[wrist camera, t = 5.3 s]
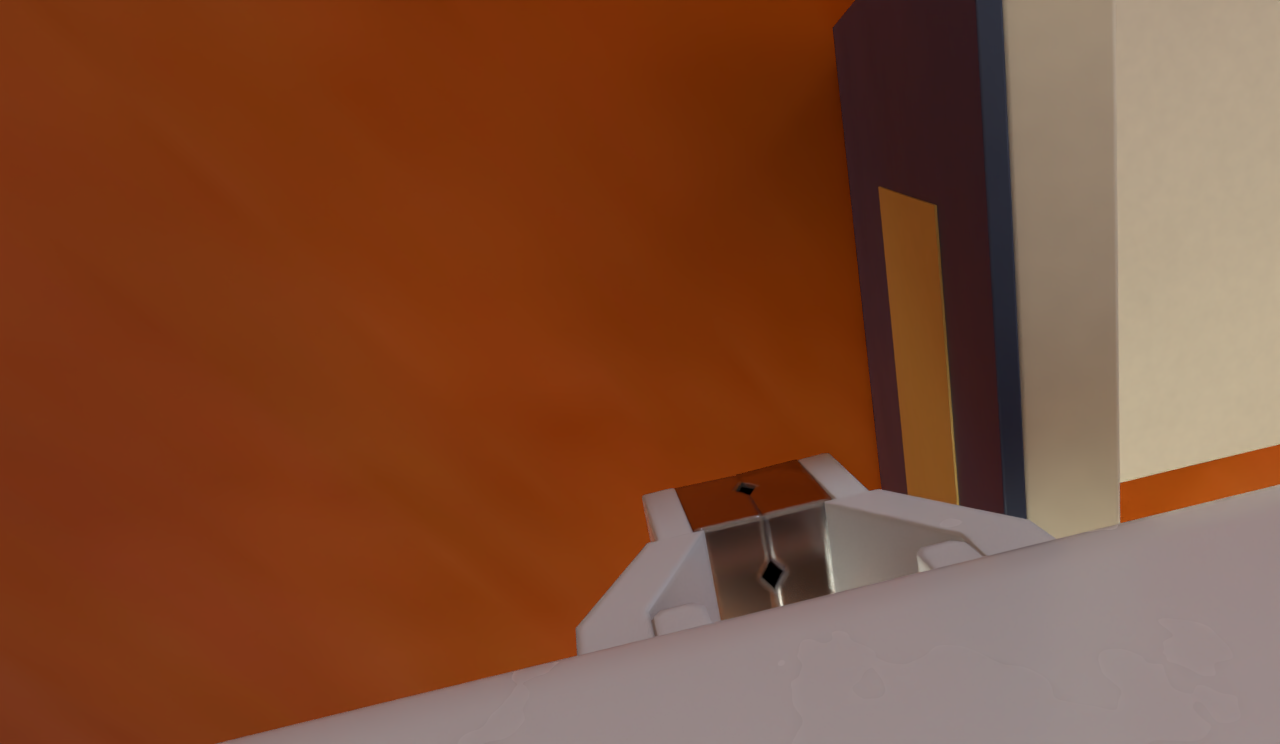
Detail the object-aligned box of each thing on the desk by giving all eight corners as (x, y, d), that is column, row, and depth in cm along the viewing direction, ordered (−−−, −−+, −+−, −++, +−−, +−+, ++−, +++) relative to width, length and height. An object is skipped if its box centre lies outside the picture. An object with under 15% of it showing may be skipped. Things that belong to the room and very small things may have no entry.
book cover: (1122, -178, 8) (963, -138, 8) (1128, 926, 12) (1025, 927, 13) (891, 14, 20) (831, 27, 20) (936, 538, 24) (885, 542, 24)
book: (1265, -48, 22) (1318, -65, 21) (1245, 435, 27) (1288, 451, 25) (865, 26, 21) (890, 14, 20) (912, 515, 26) (935, 536, 24)
